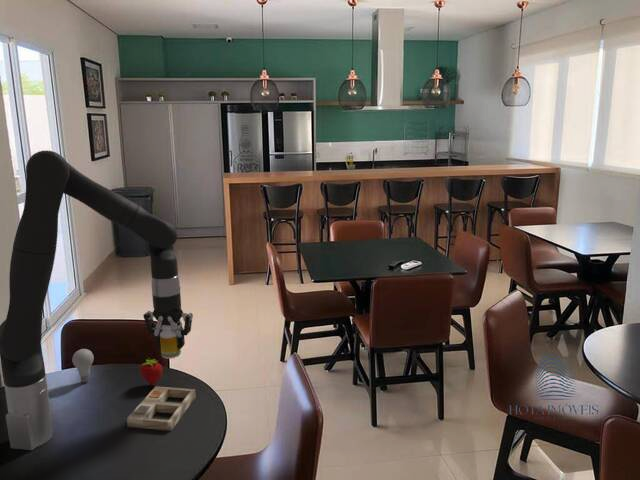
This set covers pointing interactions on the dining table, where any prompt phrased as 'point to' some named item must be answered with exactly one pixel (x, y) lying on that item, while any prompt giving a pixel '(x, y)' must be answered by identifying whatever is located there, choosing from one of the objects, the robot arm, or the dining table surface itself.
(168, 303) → the robot arm
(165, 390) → the socket plate
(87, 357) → the lightbulb
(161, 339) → the supplement bottle
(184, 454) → the dining table surface
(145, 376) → the strawberry
